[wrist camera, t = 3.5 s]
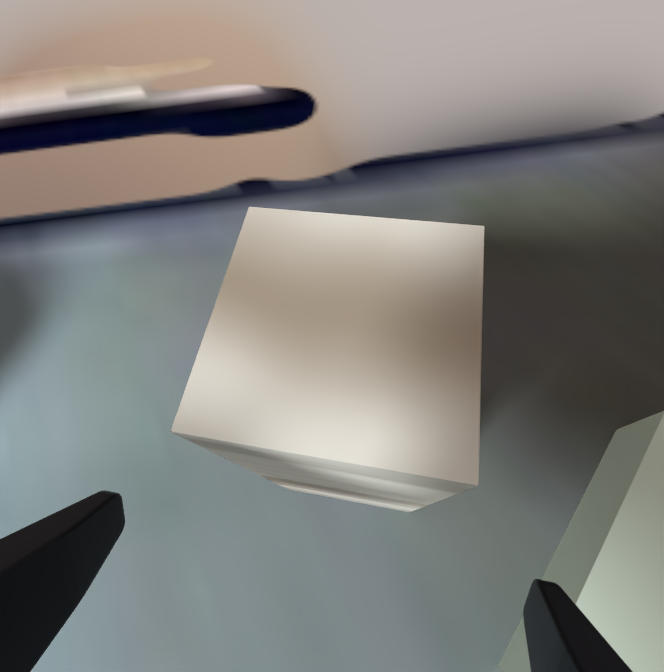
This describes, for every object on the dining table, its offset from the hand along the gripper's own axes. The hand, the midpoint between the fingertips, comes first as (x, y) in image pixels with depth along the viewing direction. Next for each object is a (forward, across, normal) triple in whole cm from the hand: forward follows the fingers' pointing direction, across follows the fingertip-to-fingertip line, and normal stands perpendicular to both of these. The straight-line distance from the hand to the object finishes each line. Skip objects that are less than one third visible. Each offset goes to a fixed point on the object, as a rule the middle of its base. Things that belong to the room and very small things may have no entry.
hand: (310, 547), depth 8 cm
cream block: (+11, 0, +5) cm, 12 cm away
